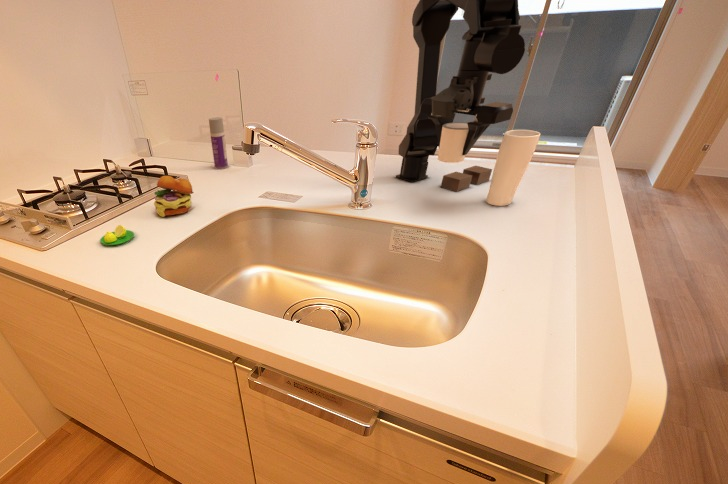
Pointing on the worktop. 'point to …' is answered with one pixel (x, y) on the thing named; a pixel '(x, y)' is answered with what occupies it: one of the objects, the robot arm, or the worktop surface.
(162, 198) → the cheeseburger
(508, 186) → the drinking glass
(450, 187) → the walnut block near
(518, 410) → the worktop surface
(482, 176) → the walnut block far
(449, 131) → the cream cup
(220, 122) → the container
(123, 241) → the lemon
